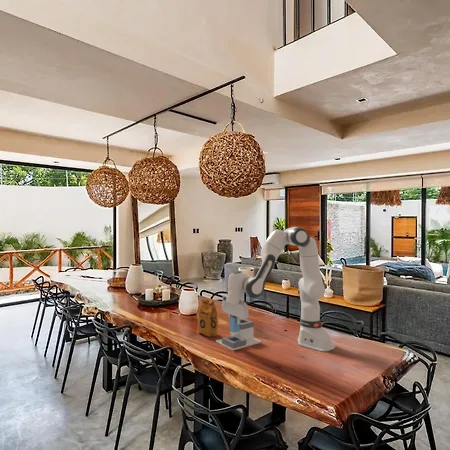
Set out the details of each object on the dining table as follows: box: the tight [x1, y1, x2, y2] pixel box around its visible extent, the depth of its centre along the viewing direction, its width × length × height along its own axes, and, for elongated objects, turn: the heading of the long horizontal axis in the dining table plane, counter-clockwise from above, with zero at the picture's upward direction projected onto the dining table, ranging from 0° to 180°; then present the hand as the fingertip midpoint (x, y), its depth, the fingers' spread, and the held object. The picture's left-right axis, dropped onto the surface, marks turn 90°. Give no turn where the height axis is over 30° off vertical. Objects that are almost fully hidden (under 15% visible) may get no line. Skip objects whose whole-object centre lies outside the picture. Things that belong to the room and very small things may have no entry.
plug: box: [228, 315, 240, 332], centre depth 198 cm, size 4×4×9 cm
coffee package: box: [197, 298, 219, 338], centre depth 217 cm, size 10×12×22 cm
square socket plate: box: [215, 318, 262, 351], centre depth 204 cm, size 16×22×11 cm
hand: (234, 322), depth 198 cm, fingers closed on plug, 4 cm apart
